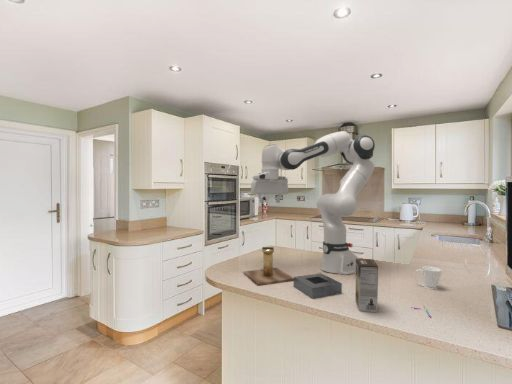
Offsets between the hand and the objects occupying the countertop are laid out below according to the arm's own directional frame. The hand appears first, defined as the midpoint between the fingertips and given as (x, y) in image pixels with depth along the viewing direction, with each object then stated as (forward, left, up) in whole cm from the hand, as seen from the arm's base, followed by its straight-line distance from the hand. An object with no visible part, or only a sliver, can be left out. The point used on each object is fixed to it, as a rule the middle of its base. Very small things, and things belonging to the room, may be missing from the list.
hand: (269, 202), depth 145 cm
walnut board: (+7, +13, -34) cm, 37 cm away
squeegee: (-29, +63, -35) cm, 77 cm away
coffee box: (-12, +55, -34) cm, 66 cm away
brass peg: (+7, +13, -33) cm, 36 cm away
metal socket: (-5, +35, -34) cm, 49 cm away
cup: (-51, +50, -34) cm, 79 cm away
